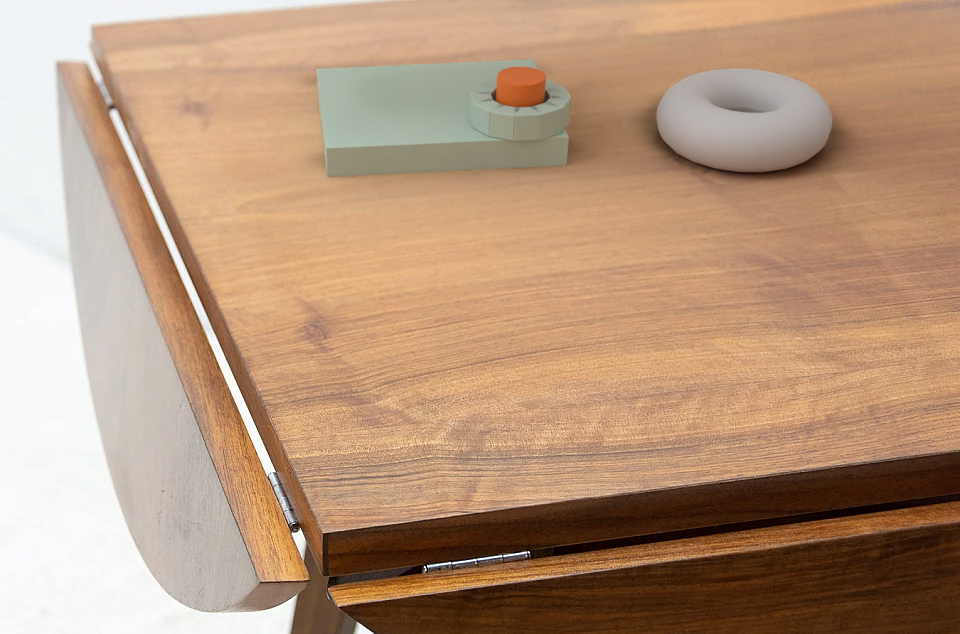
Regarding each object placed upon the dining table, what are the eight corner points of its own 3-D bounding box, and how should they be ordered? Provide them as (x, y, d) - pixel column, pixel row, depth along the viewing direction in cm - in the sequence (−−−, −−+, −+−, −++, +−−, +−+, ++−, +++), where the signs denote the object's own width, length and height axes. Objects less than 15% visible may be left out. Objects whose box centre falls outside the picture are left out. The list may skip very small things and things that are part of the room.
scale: (537, 86, 91) (540, 34, 88) (573, 169, 81) (578, 112, 78) (317, 96, 90) (316, 44, 88) (327, 180, 80) (325, 124, 78)
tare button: (539, 90, 82) (541, 65, 81) (548, 109, 80) (550, 83, 79) (492, 92, 82) (493, 67, 81) (499, 111, 80) (501, 86, 79)
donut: (618, 146, 83) (758, 199, 77) (623, 91, 81) (766, 140, 75) (722, 100, 88) (862, 146, 82) (729, 47, 86) (873, 90, 80)
